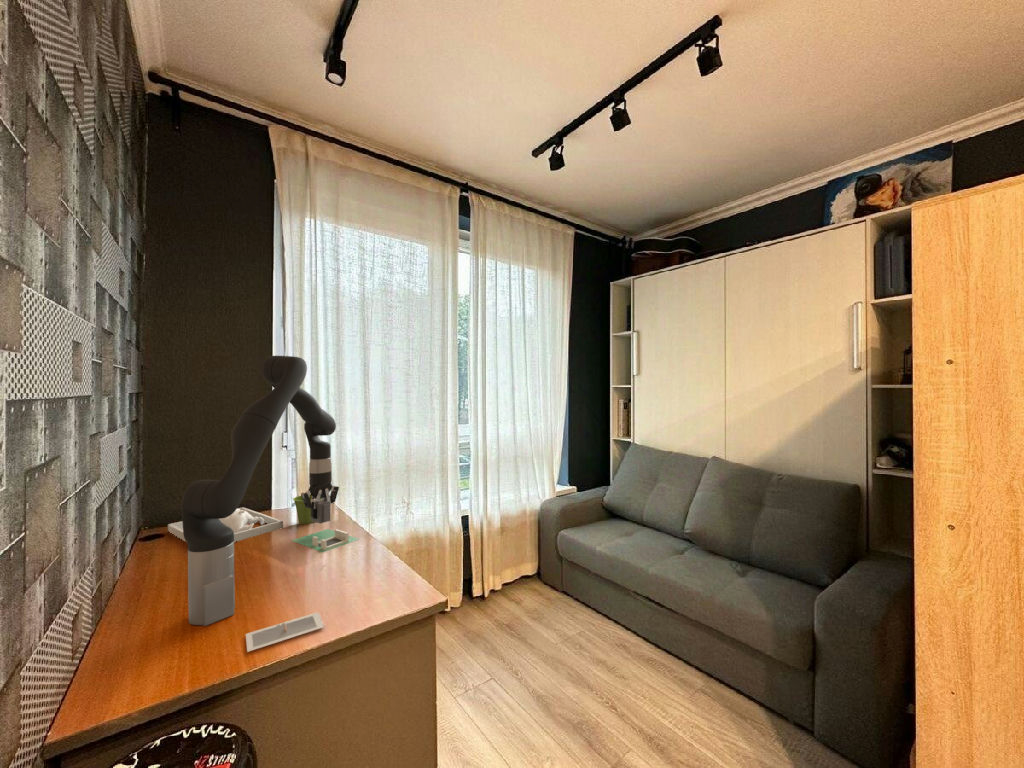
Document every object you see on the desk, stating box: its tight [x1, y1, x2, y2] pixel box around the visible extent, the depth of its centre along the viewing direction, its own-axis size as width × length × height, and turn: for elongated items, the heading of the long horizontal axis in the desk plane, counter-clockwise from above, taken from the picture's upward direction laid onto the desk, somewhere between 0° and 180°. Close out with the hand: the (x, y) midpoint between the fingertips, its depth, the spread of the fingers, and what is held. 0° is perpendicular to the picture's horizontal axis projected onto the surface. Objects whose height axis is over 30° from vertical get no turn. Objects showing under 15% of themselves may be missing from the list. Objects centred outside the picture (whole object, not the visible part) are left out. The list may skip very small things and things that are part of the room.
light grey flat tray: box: [167, 506, 284, 543], centre depth 163 cm, size 36×27×3 cm
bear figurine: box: [219, 508, 265, 533], centre depth 160 cm, size 17×14×20 cm
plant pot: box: [292, 494, 323, 525], centre depth 168 cm, size 12×12×11 cm
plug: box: [311, 500, 331, 525], centre depth 151 cm, size 4×7×7 cm, turn 55°
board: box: [291, 528, 360, 554], centre depth 147 cm, size 20×14×4 cm
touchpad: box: [245, 611, 326, 653], centre depth 93 cm, size 8×15×2 cm, turn 125°
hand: (320, 516), depth 152 cm, fingers closed on plug, 4 cm apart
